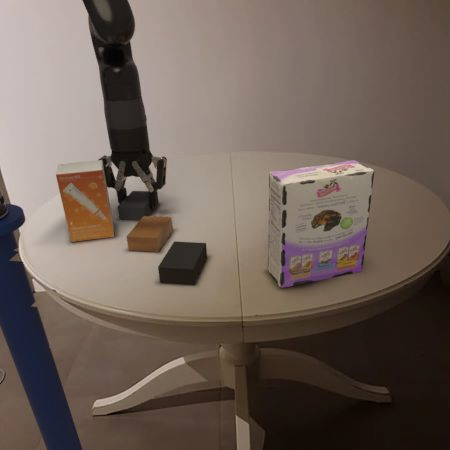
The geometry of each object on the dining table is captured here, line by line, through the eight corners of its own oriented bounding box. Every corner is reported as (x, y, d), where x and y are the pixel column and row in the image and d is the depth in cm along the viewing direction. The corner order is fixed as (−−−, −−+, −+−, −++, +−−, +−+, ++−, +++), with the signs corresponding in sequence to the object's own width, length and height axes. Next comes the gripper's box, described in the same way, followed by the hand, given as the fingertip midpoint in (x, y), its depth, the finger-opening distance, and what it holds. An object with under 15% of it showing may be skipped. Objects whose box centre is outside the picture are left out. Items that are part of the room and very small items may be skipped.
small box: (71, 243, 87) (54, 174, 80) (72, 229, 92) (56, 163, 85) (115, 237, 88) (102, 169, 81) (114, 224, 93) (102, 158, 86)
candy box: (345, 257, 78) (355, 158, 69) (363, 273, 73) (377, 169, 64) (266, 271, 75) (267, 169, 66) (280, 289, 70) (283, 182, 61)
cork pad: (158, 252, 82) (156, 237, 81) (128, 250, 83) (126, 236, 82) (173, 230, 90) (171, 216, 88) (145, 229, 91) (143, 215, 89)
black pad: (194, 284, 72) (192, 269, 71) (159, 282, 73) (157, 267, 72) (207, 257, 80) (206, 242, 78) (175, 255, 81) (174, 241, 79)
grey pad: (145, 220, 94) (143, 207, 93) (119, 219, 95) (116, 206, 94) (159, 203, 102) (157, 191, 100) (134, 203, 103) (132, 190, 101)
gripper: (82, 127, 87) (99, 212, 96) (156, 127, 84) (166, 215, 93) (99, 118, 93) (113, 199, 102) (168, 118, 90) (177, 201, 100)
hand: (139, 206), depth 98 cm, fingers closed on grey pad, 5 cm apart
